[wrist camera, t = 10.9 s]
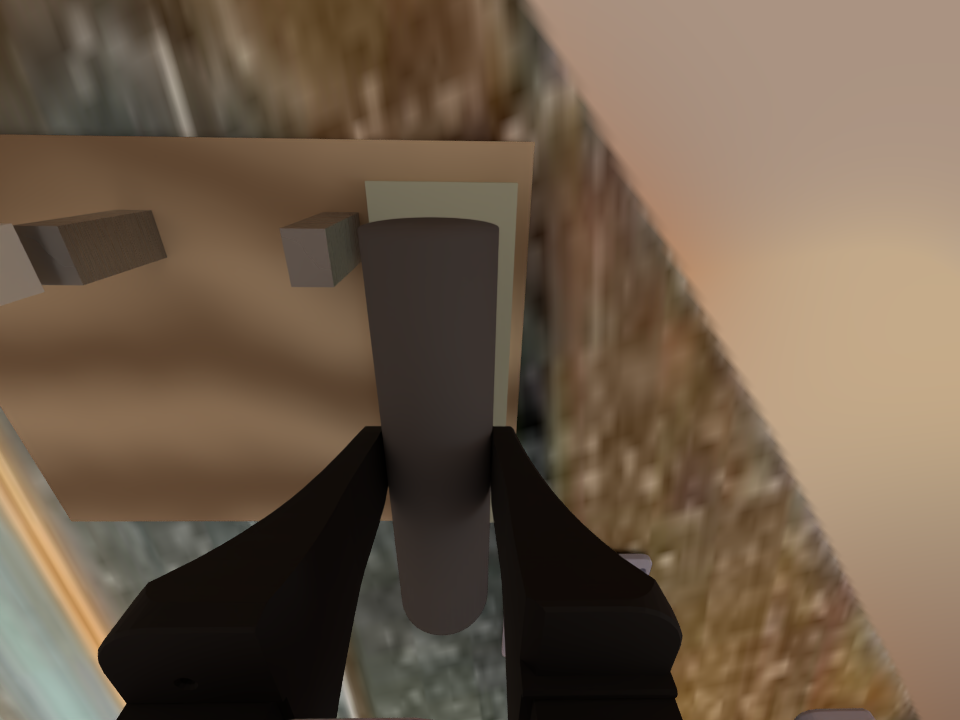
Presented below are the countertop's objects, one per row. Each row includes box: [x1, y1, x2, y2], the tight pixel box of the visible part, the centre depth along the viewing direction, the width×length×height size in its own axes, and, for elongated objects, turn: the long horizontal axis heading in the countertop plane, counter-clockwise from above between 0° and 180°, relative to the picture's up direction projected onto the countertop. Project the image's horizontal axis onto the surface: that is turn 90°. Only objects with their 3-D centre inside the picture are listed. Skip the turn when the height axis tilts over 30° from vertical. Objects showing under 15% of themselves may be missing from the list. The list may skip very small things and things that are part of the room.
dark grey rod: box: [358, 217, 499, 635], centre depth 13 cm, size 14×3×3 cm, turn 179°
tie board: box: [0, 135, 535, 522], centre depth 15 cm, size 17×22×4 cm
